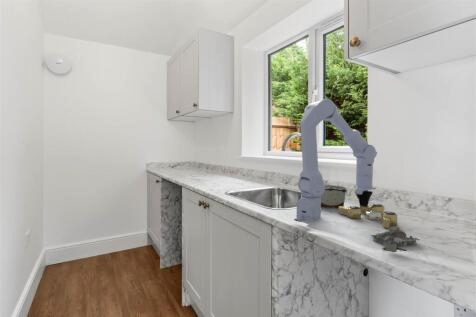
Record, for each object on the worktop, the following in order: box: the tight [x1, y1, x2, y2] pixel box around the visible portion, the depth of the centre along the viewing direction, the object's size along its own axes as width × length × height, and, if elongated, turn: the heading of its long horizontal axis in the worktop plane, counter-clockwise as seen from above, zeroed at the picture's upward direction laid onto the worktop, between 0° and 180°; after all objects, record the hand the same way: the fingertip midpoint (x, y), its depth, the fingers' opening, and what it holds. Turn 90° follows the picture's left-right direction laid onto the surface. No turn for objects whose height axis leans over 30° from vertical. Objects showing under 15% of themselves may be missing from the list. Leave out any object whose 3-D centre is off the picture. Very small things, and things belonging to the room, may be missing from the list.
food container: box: [321, 184, 348, 210], centre depth 109 cm, size 12×6×10 cm, turn 74°
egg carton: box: [370, 227, 420, 253], centre depth 69 cm, size 11×8×4 cm
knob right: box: [381, 210, 399, 229], centre depth 83 cm, size 8×4×4 cm, turn 139°
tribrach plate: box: [365, 211, 382, 222], centre depth 91 cm, size 24×24×4 cm
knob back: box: [359, 203, 385, 218], centre depth 97 cm, size 8×4×4 cm, turn 63°
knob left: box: [337, 205, 362, 220], centre depth 94 cm, size 8×4×4 cm, turn 29°
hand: (363, 209), depth 99 cm, fingers closed, pressing on knob back
